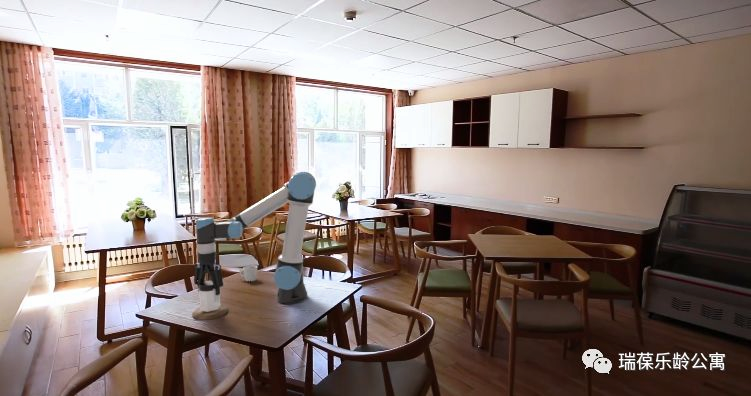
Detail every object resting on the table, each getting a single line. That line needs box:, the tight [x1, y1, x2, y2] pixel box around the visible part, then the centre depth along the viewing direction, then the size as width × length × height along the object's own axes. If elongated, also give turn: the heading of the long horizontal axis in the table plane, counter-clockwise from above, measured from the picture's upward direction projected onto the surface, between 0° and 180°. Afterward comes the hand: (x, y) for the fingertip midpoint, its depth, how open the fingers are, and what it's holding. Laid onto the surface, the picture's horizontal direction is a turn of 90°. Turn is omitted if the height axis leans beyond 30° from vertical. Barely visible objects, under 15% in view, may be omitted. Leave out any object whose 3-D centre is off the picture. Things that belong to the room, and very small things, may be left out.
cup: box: [239, 264, 258, 282], centre depth 227 cm, size 11×8×8 cm
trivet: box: [192, 304, 229, 321], centre depth 179 cm, size 15×15×1 cm
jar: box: [198, 280, 221, 312], centre depth 178 cm, size 9×8×12 cm
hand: (209, 300), depth 178 cm, fingers closed on jar, 8 cm apart
